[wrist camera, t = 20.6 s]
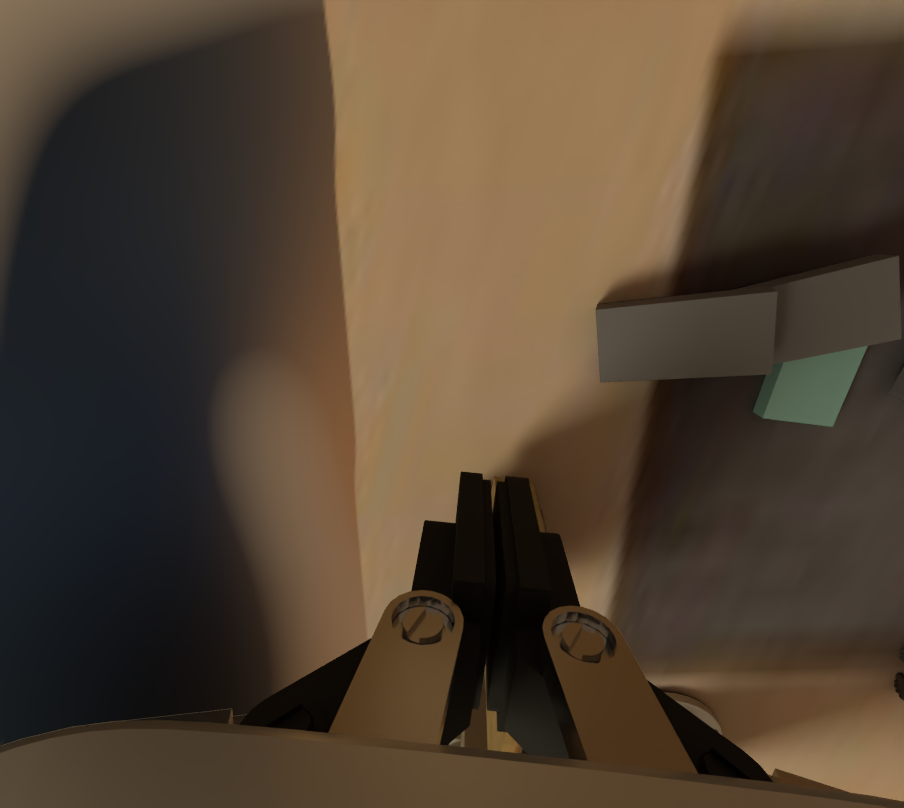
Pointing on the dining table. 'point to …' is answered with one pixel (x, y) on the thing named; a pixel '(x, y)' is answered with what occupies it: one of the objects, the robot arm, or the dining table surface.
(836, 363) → the domino
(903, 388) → the domino
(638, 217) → the dining table surface
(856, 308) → the domino
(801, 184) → the dining table surface
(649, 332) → the domino
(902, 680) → the yeti figurine
